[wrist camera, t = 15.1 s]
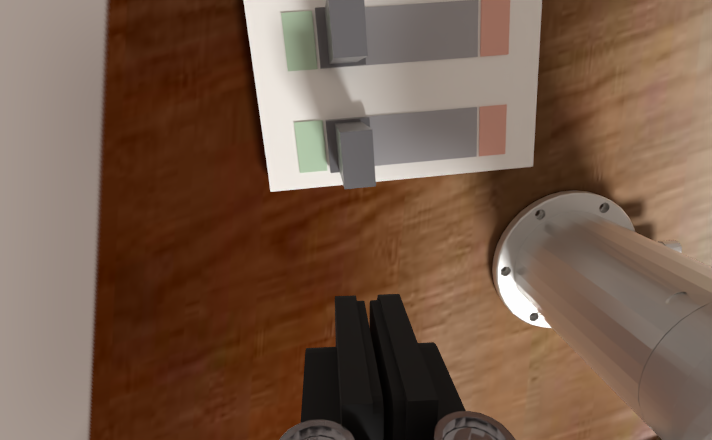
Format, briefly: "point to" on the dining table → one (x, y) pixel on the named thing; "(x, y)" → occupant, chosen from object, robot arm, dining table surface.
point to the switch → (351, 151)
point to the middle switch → (341, 33)
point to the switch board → (400, 87)
